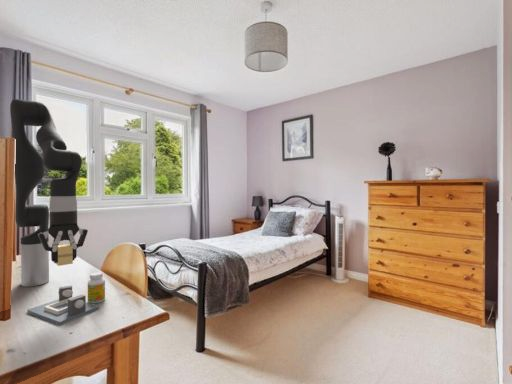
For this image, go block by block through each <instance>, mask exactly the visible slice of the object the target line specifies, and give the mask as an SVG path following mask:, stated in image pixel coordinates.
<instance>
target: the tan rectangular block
mask: <svg viewBox="0 0 512 384" xmlns="http://www.w3.org/2000/svg"><path fill="white" fill-rule="evenodd" d="M57 261H58V262H57V263H55V264H56V265H57V266H58V267H59V266H67V265H72V264H74V263H73V261H74V260H73V246H72V245H71V244H70V243H68V244H59V245H58V247H57Z"/></svg>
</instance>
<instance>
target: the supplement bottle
mask: <svg viewBox="0 0 512 384" xmlns="http://www.w3.org/2000/svg"><path fill="white" fill-rule="evenodd" d="M103 276H104V275H103V272H100V271H96V272H92V273H90V274H89V280H88V281H87V303H90V304H98V303H101V302H104V300H105V299H106V280H105V278H104V277H103Z"/></svg>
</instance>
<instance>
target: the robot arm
mask: <svg viewBox="0 0 512 384" xmlns="http://www.w3.org/2000/svg"><path fill="white" fill-rule="evenodd" d="M9 111H10V113H9V114H10V120H11V122H10V123H11V128H12V129H11V130H12V135H13V138H15V139H16V164H15V172H14V180H15V212H14V213H15V223H16V225H17V227H18V228H33V227H39V228H38V229H37V230H35V231H34V232H31V233H29V234H26V235H23V236H22V237H21V238H20V280H21V281H20V286H21V287H26V288H27V287H28V288H29V287H30V288H31V287H36V286H40V285H44V284H47V283H48V282H49V281H50V262H49V261H50V260H51V262H53V264H56V263H57V262H58V261H57V247H58V245H60V242H63V241H68V242H69V244H71V245H72V246H73V261H75V259H77V254H78V252H77V249H78V248H82V247H83V246H84V244H85V240H86V238H87V235H88V232H89V231H88V229H87V228H80V226H79V225H78V200H77V181H78V178H79V174H80V171H81V167H82V163H83V159H82V157H81V155H80V153H78V152H77V151H75V150H67V149H68V148H67V144H66V143H65V141H64V140H63V137H61V135H60V134H59V132H58V131H57V128H56V125H55V123H54V119H53V116H52V114H51V112H50V109H49V108H48V106H47V105H46V104H45V103H43V102H40V101H34V100H26V99H20V98H19V99H17V98H16V99H12V100H11V102H10V105H9ZM25 126H29V127H39V129H38V130H37V131H36V134H35V138H36V142H37V144H38V146H39V147H40V149H41V150H42V154H41V153H40V151H38V148H36V147H35V146H34V144H33V143H32V141H31V140H30V138H29V137H28V135H27V132H26V130H25ZM45 168H46V169H48V170H49V171H54V172H56V171H57V172H66V173H65V175H64V176H63V177H59V178H53V179H51V181H50V186H49V188H50V190H49V191H50V192H49V193H50V198H49V206H48V205H47V204H26V203H27V200H28V199H29V197H30V195H31V193H32V192H33V191H34V189H36V187H37V186H38V185H39V184H40V183H41V181H42V180H43V178H44V176H45ZM77 233H78V234H79V238H78V241H77V243H76V239H75V236H76V234H77ZM49 235H50V236H51V237H52V238H53V239H52V245H51V246H50V245H49V244H50V243H49V239H50V238H49ZM50 253H51V255H50Z"/></svg>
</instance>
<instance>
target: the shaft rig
mask: <svg viewBox="0 0 512 384" xmlns="http://www.w3.org/2000/svg"><path fill="white" fill-rule="evenodd" d="M73 295H74V293H73V285H66V286H59V288H58V299H55V300H52V301H49V302H46V303H43V304H41V305H36V306H35V307H32V308H29V309H27V310H26V311H27V312H26V313H27V314H29V315H32V316H34V317H37V318H39V319H41V320H44V321H48V322H50V323H53V324H55V325H58V326H61V325H64V324H66V323H68V322H71V321H74V320H76V319H78V318H81V317H84V316H85V315H88V314H90V313H92V312H95V311H98V310H99V305H97V304H94V303H89V302H87V301H86V295H85V294H79V295H75V296H73Z"/></svg>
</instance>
